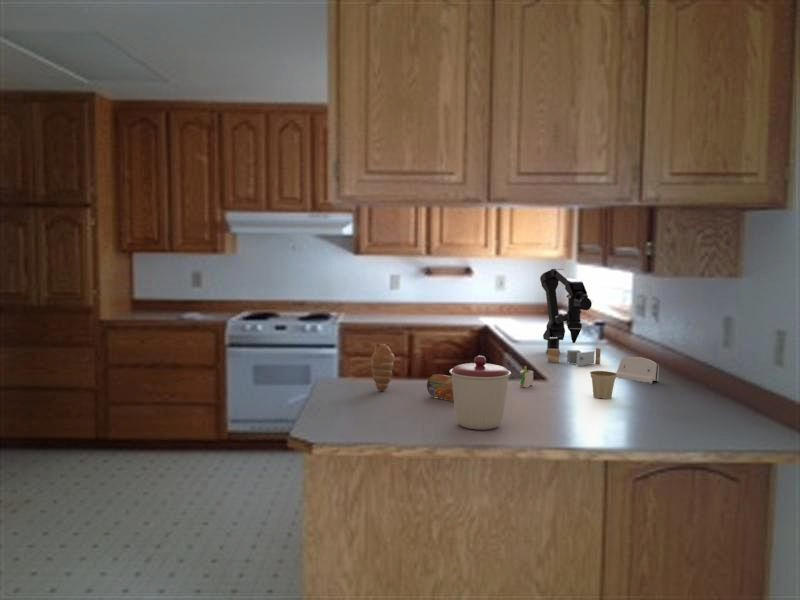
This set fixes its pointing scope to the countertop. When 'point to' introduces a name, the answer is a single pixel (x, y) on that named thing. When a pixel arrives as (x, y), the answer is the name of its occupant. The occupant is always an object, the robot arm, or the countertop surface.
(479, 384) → the canister
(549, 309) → the robot arm
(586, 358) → the door
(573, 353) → the block
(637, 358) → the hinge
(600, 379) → the flower pot
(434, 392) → the tin
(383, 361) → the croissant
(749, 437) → the countertop surface
